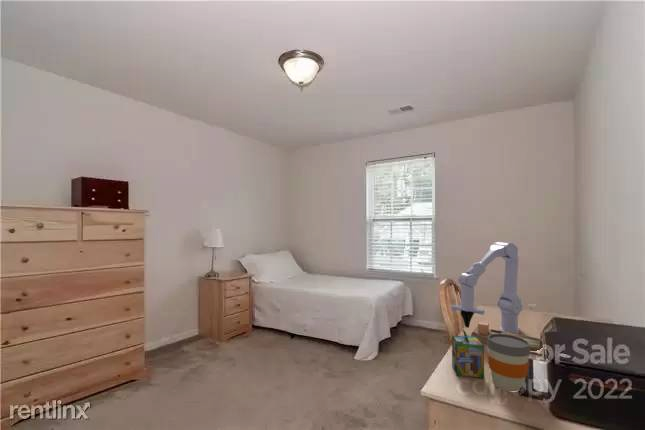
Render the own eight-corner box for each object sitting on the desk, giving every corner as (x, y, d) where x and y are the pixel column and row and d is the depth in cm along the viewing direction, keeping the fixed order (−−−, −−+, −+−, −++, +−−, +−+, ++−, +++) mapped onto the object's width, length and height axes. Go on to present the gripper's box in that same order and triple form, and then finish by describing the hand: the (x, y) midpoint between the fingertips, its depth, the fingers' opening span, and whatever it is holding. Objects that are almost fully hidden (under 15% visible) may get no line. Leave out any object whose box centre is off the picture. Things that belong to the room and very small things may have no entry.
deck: (476, 331, 156) (476, 320, 156) (542, 344, 141) (542, 332, 141) (471, 339, 146) (471, 327, 146) (542, 355, 130) (542, 341, 130)
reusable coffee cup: (537, 388, 104) (537, 342, 105) (518, 400, 98) (518, 351, 98) (498, 372, 115) (499, 330, 115) (479, 381, 108) (479, 337, 108)
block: (479, 329, 151) (479, 321, 151) (488, 331, 149) (488, 323, 149) (477, 332, 148) (477, 323, 148) (487, 334, 146) (487, 325, 146)
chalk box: (484, 379, 110) (484, 336, 110) (456, 376, 112) (456, 334, 112) (477, 366, 119) (477, 327, 119) (451, 364, 121) (451, 325, 121)
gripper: (449, 297, 154) (449, 325, 154) (482, 302, 145) (482, 332, 145) (453, 295, 159) (452, 322, 159) (485, 299, 151) (485, 328, 151)
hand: (467, 326), depth 153 cm, fingers closed
